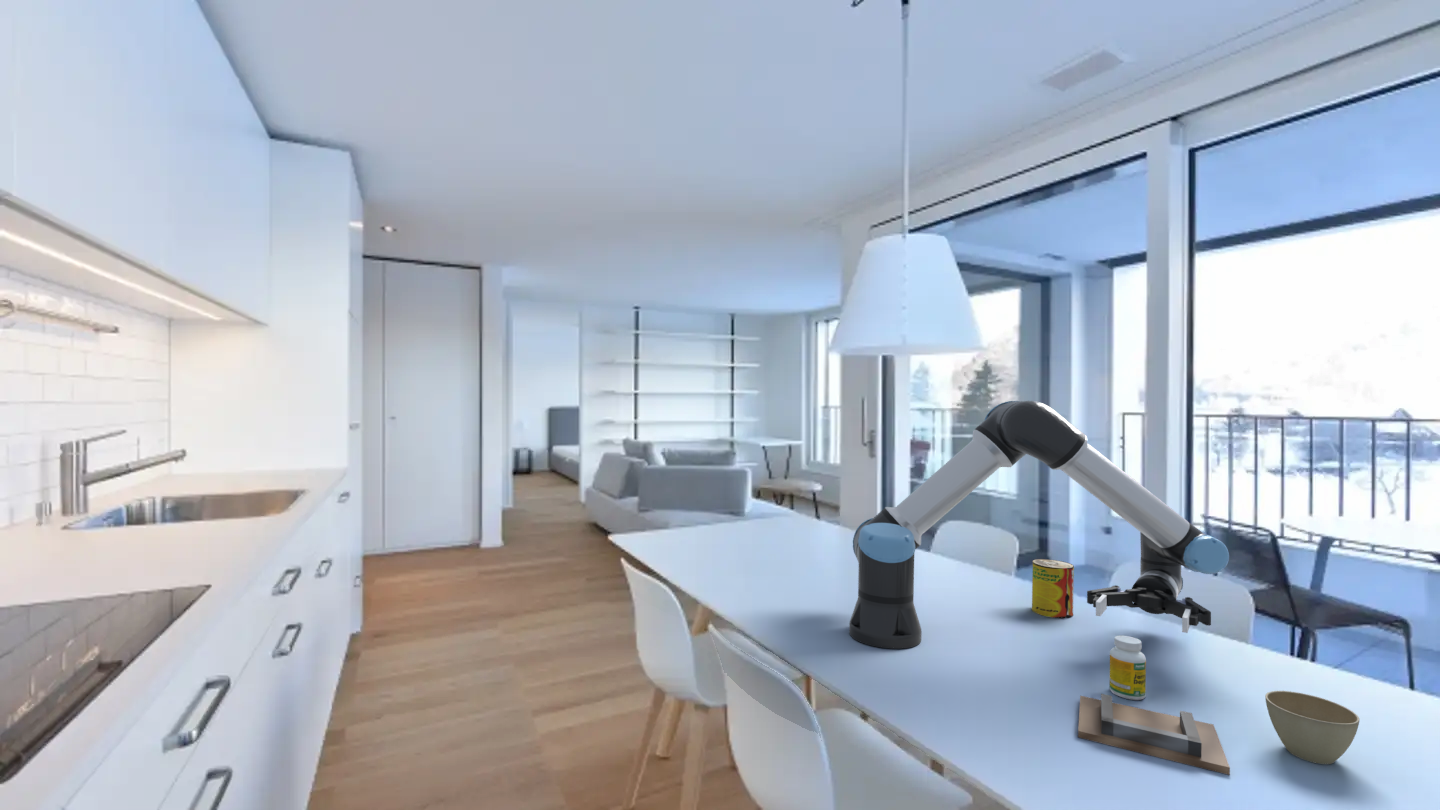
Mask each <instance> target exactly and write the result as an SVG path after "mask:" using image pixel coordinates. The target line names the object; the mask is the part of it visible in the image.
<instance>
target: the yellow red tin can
mask: <svg viewBox="0 0 1440 810" xmlns="http://www.w3.org/2000/svg"><path fill="white" fill-rule="evenodd" d="M1074 571H1075V566H1074V564H1072V563H1070V562H1066V561H1064V560H1063V561H1062V560H1057V559H1046V558H1044V559H1043V558H1040V559H1034V560H1032V577H1031V578H1032V583H1031V586H1032V587H1031V593H1032V594H1031V610H1032V612H1033V613H1035V614H1038V615H1040V616H1044V617H1048V618H1054V619H1069V618H1073V616H1074V587H1075V585H1074V584H1075V582H1074V579H1075V577H1074V576H1075V575H1074V574H1075V572H1074Z"/></svg>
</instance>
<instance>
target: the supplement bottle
mask: <svg viewBox="0 0 1440 810" xmlns="http://www.w3.org/2000/svg"><path fill="white" fill-rule="evenodd" d="M1113 638H1114V642H1113V643H1114V647H1112V648H1111V649H1110V650H1109V690H1110V691H1111V693H1112V694H1113V695H1115V696H1117V697H1119V698H1122V699H1126V700H1130V701H1131V700H1132V701H1142V700H1144V699H1145V697H1146V693H1147V692H1146V685H1147V684H1146V681H1147V680H1146V676H1147V675H1146V674H1147V659H1146V655H1145V654H1144V653H1143V652H1142V649H1143V647H1142V641H1141V639H1138V638H1137V637H1132V636H1128V635H1115V636H1114V637H1113Z"/></svg>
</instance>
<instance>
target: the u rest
mask: <svg viewBox="0 0 1440 810" xmlns="http://www.w3.org/2000/svg"><path fill="white" fill-rule="evenodd" d="M1079 697H1080V698H1079V711H1078V712H1079V715H1078V727H1077V731H1078V732H1077V734H1078V735H1077V738H1078V737H1079V739H1084V740H1087V741H1091V742H1094V743H1099V744H1104V745H1107V746H1112V747H1116V748H1119V749H1123V750H1128V751H1130V752H1136V753H1138V754H1139V753H1140V754H1144V755H1148V756H1152V757H1155V758H1159V759H1164V760H1167V761H1171V762H1175V763H1176V762H1177V763H1179V764H1184V765H1188V766H1192V767H1196V768H1201V769H1204V770H1209V771H1212V772H1217V773H1220V774H1224V775H1229V776H1230V774H1231V770H1230V769H1231V767H1230V764H1229V761H1228V759H1227V756H1226V752H1225V751H1224V749H1223V745H1222V743H1221V741H1220V738H1219V734H1218V733H1217V730H1216V728H1215V725H1214V724H1212V723H1208V722H1204V721H1199V720H1195V719H1194V716H1193V713H1192V712H1191V711H1190V712H1189V711H1185V710H1179V716H1177V715H1176V716H1175V715H1171V714H1168V713H1167V714H1166V713H1162V712H1158V711H1154V710H1148V709H1144V708H1140V707H1134V706H1131V705H1126V704H1125V705H1124V704H1121V703H1117V702H1113V696H1112V695H1108V694H1104V693H1101V695H1100V699H1098V698H1094V697H1089V696H1084V695H1080V696H1079Z"/></svg>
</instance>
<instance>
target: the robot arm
mask: <svg viewBox="0 0 1440 810" xmlns="http://www.w3.org/2000/svg"><path fill="white" fill-rule="evenodd" d="M1026 455H1028V456H1030V457H1033V458H1035V459H1036V460H1039V461H1040V462H1041V463H1043V464H1045V465H1046V466H1047V467H1049V468H1050V469H1051V470H1053V471H1055V470H1056V471H1057V470H1060V471H1062V473H1064V474H1065V475H1067V476H1068V477H1070V479H1072V480H1073V481H1075V482H1076V483H1077V484H1078V485H1080V486H1081V487H1082V488H1084V489H1085V490H1086V491H1087V492H1089V493H1090V494H1091V495H1093V496H1094V497H1095V498H1096V499H1098V501H1100V502H1102V503H1103V504H1104V505H1105V506H1106V507H1108V508H1109V509H1111V510H1112V511H1113V512H1114V513H1116V514H1117V515H1118V516H1119V517H1121V519H1123V520H1124V521H1126V522H1128V523H1129V524H1130V526H1132V527H1134V528H1135V529H1136V530H1137V531H1138V532H1140V533H1139V534H1140V535H1139V536H1140V539H1139V540H1140V560H1139V561H1140V568H1139V569H1140V573H1139V574H1140V576H1139V577H1138V578H1137V579H1136V581H1135V582H1134V583H1133V585H1132V586H1131V588H1129V589H1128V588H1127V589H1125V590H1122V589H1121V587H1120V586H1118V585H1116V584H1115V585H1111V586H1109V587H1103V588H1097V589H1089V590H1087V591H1086V603H1087V604H1088V605H1092V607H1093V608H1095V616H1096V617H1101V616H1102V615H1103V614H1104V613H1105V611H1106V610H1107V607H1118V606H1119V607H1123V606H1126V607H1128V608H1131V609H1133V608H1139V609H1140V610H1142V611H1144V612H1146V613H1149V614H1151V615H1161V614H1165V615H1174V616H1176V617H1178V618H1180V619H1181V621H1182V622H1181V623H1182V624H1181V630H1182V631H1181V632H1182V633H1185V634H1188V632H1189V629H1190V627H1191V626H1194V627H1197V626H1198V625H1199V623H1200V624H1203V625H1205V626H1212V612H1211V611H1210V610H1209V609H1207V608H1206V607H1204V606H1202V605H1200V604H1199V603H1197V602H1196V601H1194V599H1193V598H1192V597H1190V596H1187V597H1185V598H1183V597H1182V599H1181V600H1180V599H1177V598H1178V595H1180V594H1181V592H1182V590H1183V589H1184V588H1183V587H1184V579H1183V577H1182V576H1183V575H1182V566H1183V567H1185V568H1187V569H1189V570H1190V571H1193V572H1194V573H1201V574H1203V575H1215V574H1218V573H1220V572H1221V571H1223V570H1224V569H1225V568H1226V567H1227V565H1228V563H1229V560H1230V553H1229V550H1228V547H1227V546H1226V544H1225V543H1224V542H1223V541H1221V540H1219V539H1217V538H1216V537H1214V536H1213V535H1209V534H1205V533H1204V532H1203V531H1202V530H1200V529H1199V528H1198V527H1196V526H1195V525H1193V524H1192V523H1190V522H1189V521H1188V520H1187V519H1185V518H1184V517H1183V516H1181V514H1179V513H1178V512H1177V511H1175V510H1174V509H1172V508H1171V507H1170V506H1169V505H1167V504H1166V503H1165V502H1164V501H1163V500H1161V499H1160V498H1159V497H1157V496H1156V495H1155V494H1154V493H1152V491H1151V492H1150V491H1149V489H1147V488H1146V487H1145V486H1143V485H1142V484H1140V483H1139V482H1138V481H1136V480H1135V479H1134V478H1133V477H1131V476H1130V475H1129V474H1128V473H1127V472H1125V471H1124V470H1123V469H1121V468H1120V467H1119V466H1117V465H1116V464H1115V463H1114V462H1112V461H1111V460H1110V459H1108V458H1107V457H1106V456H1105V455H1103V453H1101V452H1100V451H1098V450H1097V449H1096V448H1095V447H1093V446H1092V445H1090V444H1089V443H1088V437H1087V435H1086V434H1085V433H1084V432H1082V431H1081V430H1079V429H1078V428H1077V426H1075V425H1074V424H1072V423H1071V422H1070V421H1069V420H1068V419H1066V418H1065V417H1063V416H1062V415H1061V414H1060V413H1059V412H1058V411H1056V410H1055V409H1053V408H1052V407H1051V406H1049V405H1047V404H1045V403H1043V402H1039V401H1035V400H1024V401H1022V400H1021V401H1020V400H1007V401H1005V402H1001V403H998V404H997V405H996V406H994V407H993V408H991V409H990V410H989V411H988V412H987V414H986V415H985V418H984V421H982V422H981V423H980V424H979V425H978V426H977V427H975V428H974V429H973V430H972V439H971V441H969V443H967V444H966V445H964V447H963V448H962V449H961V450H960V451H958V452H957V453H955V455H954V456H953V457H951V458H950V459H948V461H946V462H945V464H943V465H942V466H941V467H940V468H938V469H937V471H936V472H934V473H932V475H931V476H930V477H928V478H927V479H925V481H924V482H923V483H921V484H920V485H919V486H918V487H917V488H915V490H914V491H913V492H911V493H910V494H909V495H907V496H906V497H905V498H904V499H903V500H902V501H901V502H900V503H899V504H898V505H897V506H895V507H894V506H893V507H892V506H891V507H890V506H885V507H884V508H883V509H882V510H881V511H879V512H878V513H877V514H876V515H875V516H873V517H871V518H869V519H866V520H864V521H863V522H862V523H861V524H859V525H858V527H857V528H856V530H855V531H854V535H853V537H852V538H853V540H852V549H853V553H854V556H855V557H856V560H857V563H858V578H857V579H858V580H857V581H858V583H857V585H858V586H857V589H858V591H857V600H856V603H855V606H854V609H853V610H852V614H851V617H850V620H849V623H848V624H849V625H848V626H849V627H848V628H849V630H848V631H849V632H848V633H849V635H850V637H852V638H853V639H854V640H856V641H857V642H860V643H862V644H865V645H867V646H871V647H877V648H883V649H892V650H893V649H895V650H896V649H897V650H898V649H899V650H900V649H909V648H913V647H917V646H918V645H920V643H921V642H922V634H923V633H922V627H921V623H920V620H919V616H918V613H917V611H916V607H915V603H914V602H915V601H914V597H915V596H914V593H915V591H914V590H915V589H914V587H915V586H914V585H915V579H914V578H915V552H916V550H917V549H918V548H919V547H920V546H921V545H922V535H923V534H924V533H926V532H927V531H929V529H931V527H933V526H934V525H935V524H936V523H937V522H938V521H939V520H941V519H942V518H943V517H944V516H945V515H947V514H948V513H949V512H950V511H951V510H953V508H955V507H956V506H957V505H958V504H959V503H960V502H962V501H963V500H965V498H967V496H969V495H970V494H971V493H972V492H974V491H975V489H976V488H978V487H979V486H980V485H981V484H982V483H983V482H985V481H986V480H987V479H988V478H989V477H990V476H992V475H993V474H994V473H995V472H996V471H997V470H998V469H1000V468H1012V467H1013V466H1014V465H1015V464H1016V463H1017V462H1018V461H1020V460H1021V459H1022V458H1023V457H1025V456H1026Z"/></svg>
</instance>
